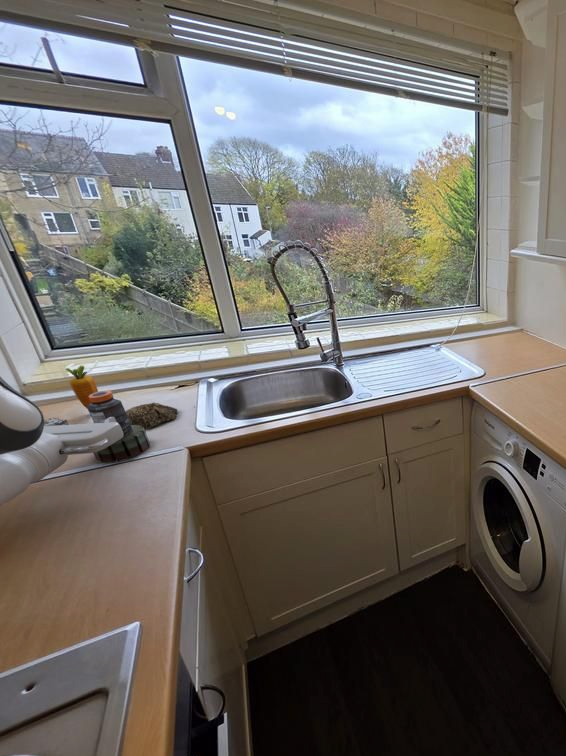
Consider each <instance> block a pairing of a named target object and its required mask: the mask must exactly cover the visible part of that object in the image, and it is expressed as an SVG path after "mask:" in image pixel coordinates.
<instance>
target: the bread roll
mask: <svg viewBox="0 0 566 756" xmlns="http://www.w3.org/2000/svg"><path fill="white" fill-rule="evenodd" d="M125 412H126V414H127V417H128V419H129V421H130V424H131V425H136V426H137V425H139V426H142V427H143V428H144V429H151V428H153V427H155V426H157V425H159V424H161V423H164V422H170V421H171V422H172V421H173V420H175V419H176V418H177V414H178V412H179V410H178V408H175V407H172V406H168V405H164V404H161V403H159V402H150V403H145V404H140V405H136V406H133V407H131V408H129V409H127V410H125Z"/></svg>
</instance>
